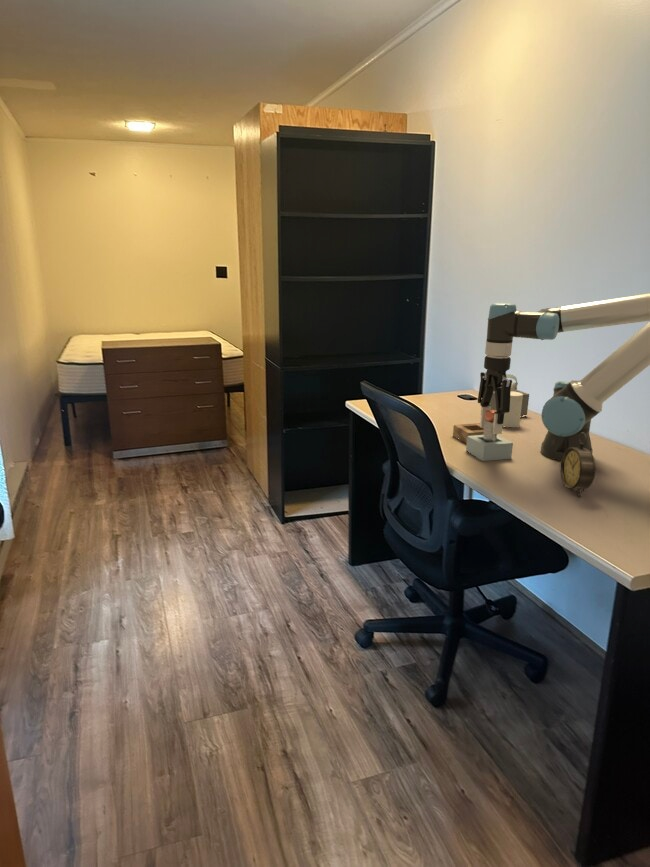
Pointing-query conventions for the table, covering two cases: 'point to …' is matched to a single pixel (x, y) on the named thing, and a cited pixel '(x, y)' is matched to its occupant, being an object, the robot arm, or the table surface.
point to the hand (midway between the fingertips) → (490, 430)
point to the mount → (467, 431)
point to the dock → (489, 448)
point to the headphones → (514, 385)
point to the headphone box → (524, 402)
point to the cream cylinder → (513, 410)
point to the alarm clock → (578, 467)
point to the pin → (489, 427)
